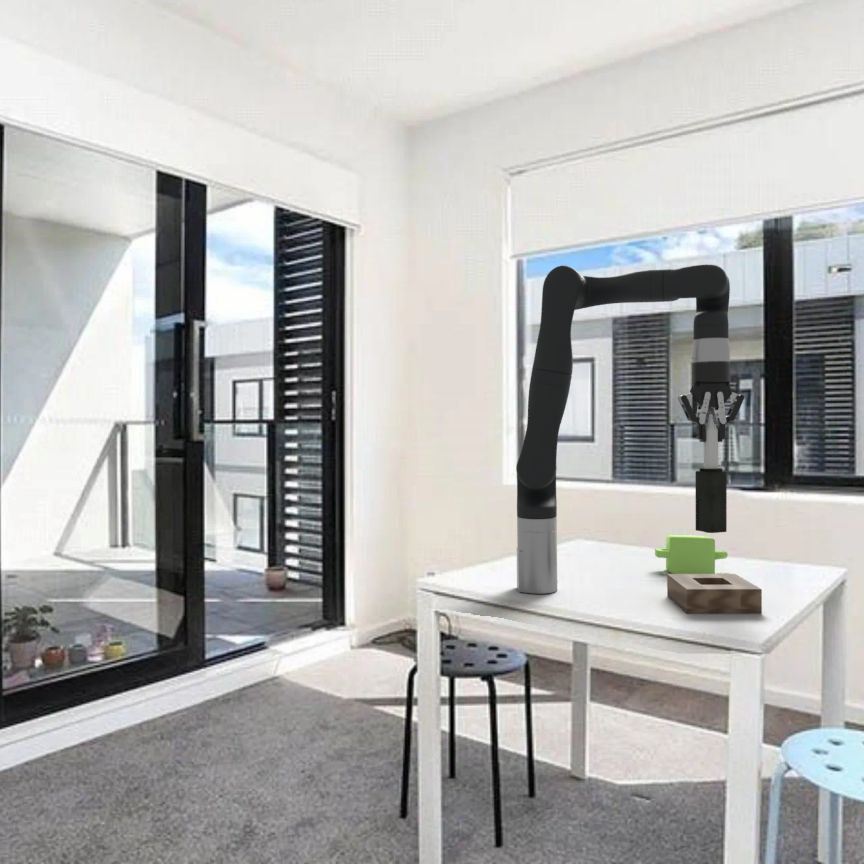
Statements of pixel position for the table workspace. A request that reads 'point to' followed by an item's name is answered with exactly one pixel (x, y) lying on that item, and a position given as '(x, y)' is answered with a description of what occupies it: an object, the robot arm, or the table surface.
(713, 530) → the candle
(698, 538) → the green square pitcher
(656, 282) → the robot arm
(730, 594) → the holder
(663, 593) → the table surface
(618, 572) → the table surface
